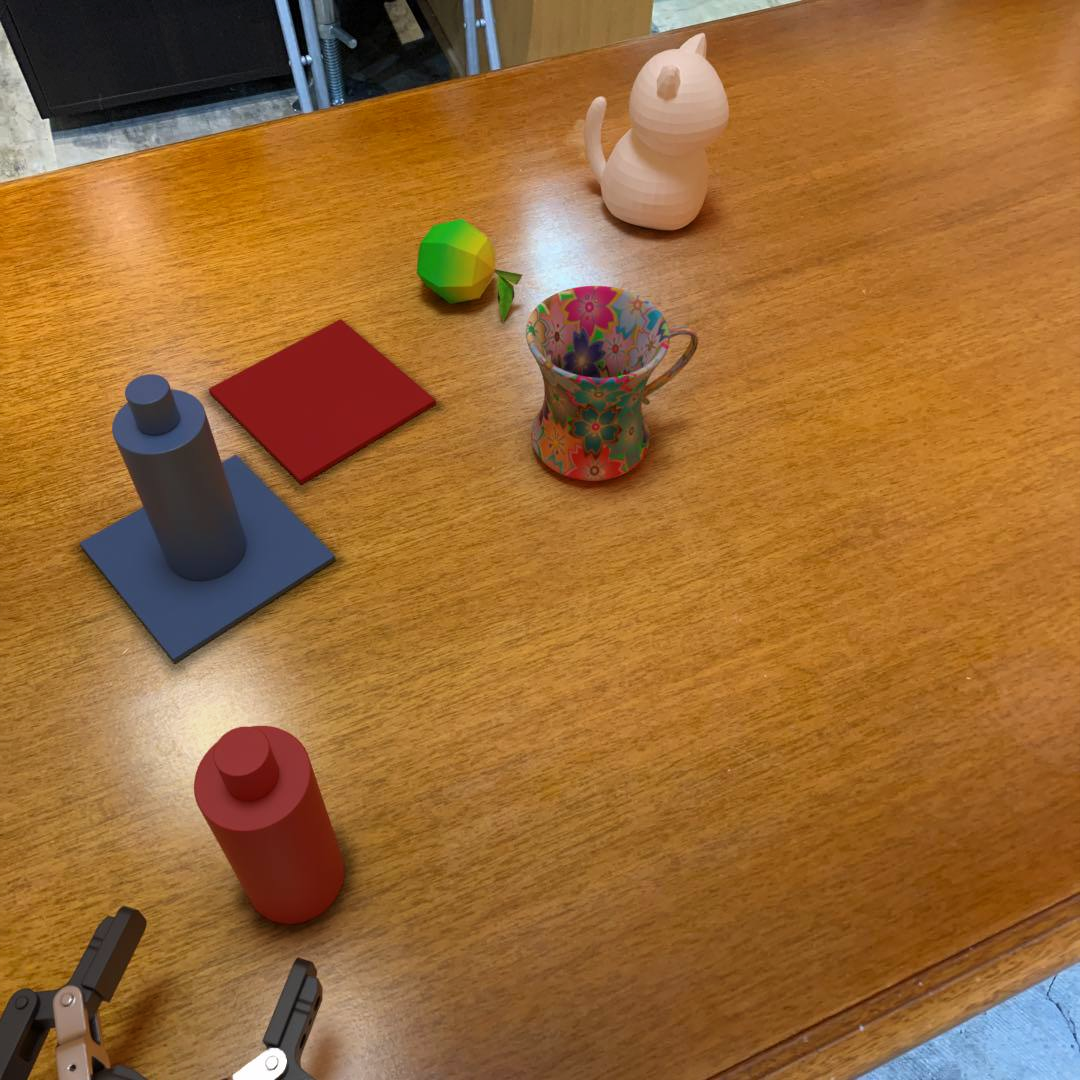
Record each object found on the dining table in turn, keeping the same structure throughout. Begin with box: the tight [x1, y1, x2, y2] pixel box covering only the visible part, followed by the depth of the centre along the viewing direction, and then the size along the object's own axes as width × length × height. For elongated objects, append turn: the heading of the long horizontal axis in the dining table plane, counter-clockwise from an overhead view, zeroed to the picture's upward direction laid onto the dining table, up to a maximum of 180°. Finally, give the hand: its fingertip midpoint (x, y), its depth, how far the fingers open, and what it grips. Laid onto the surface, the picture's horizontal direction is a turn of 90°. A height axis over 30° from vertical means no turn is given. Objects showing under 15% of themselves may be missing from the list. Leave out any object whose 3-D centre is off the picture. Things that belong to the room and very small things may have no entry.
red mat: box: [208, 318, 437, 485], centre depth 80 cm, size 12×12×1 cm
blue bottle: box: [111, 373, 247, 581], centre depth 65 cm, size 5×5×14 cm
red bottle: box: [193, 725, 346, 925], centre depth 52 cm, size 5×5×14 cm
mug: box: [525, 285, 699, 482], centre depth 74 cm, size 12×9×11 cm
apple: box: [416, 218, 523, 324], centre depth 86 cm, size 7×6×9 cm
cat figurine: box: [583, 32, 730, 231], centre depth 90 cm, size 9×12×15 cm
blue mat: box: [79, 454, 337, 664], centre depth 71 cm, size 12×12×1 cm
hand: (220, 938), depth 49 cm, fingers open, 8 cm apart
